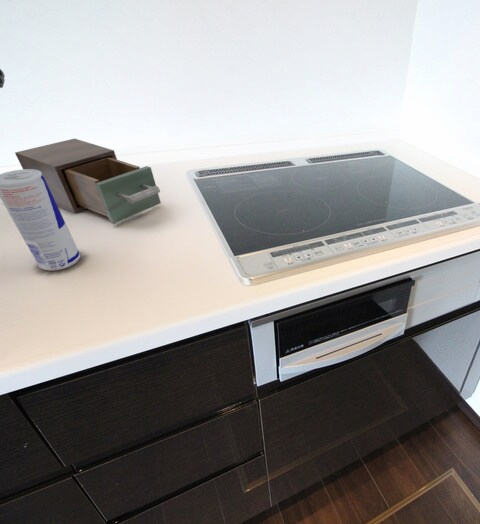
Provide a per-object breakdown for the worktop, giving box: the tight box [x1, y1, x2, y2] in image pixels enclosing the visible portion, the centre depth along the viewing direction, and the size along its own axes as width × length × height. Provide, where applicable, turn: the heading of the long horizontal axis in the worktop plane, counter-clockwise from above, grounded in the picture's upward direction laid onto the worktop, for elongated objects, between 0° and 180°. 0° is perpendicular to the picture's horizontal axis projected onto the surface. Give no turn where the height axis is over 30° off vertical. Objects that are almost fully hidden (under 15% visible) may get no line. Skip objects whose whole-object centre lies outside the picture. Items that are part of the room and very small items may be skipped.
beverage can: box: [0, 168, 81, 271], centre depth 55 cm, size 6×6×15 cm
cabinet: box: [14, 138, 118, 214], centre depth 76 cm, size 14×12×10 cm
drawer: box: [62, 157, 162, 224], centre depth 71 cm, size 17×10×8 cm, turn 62°
